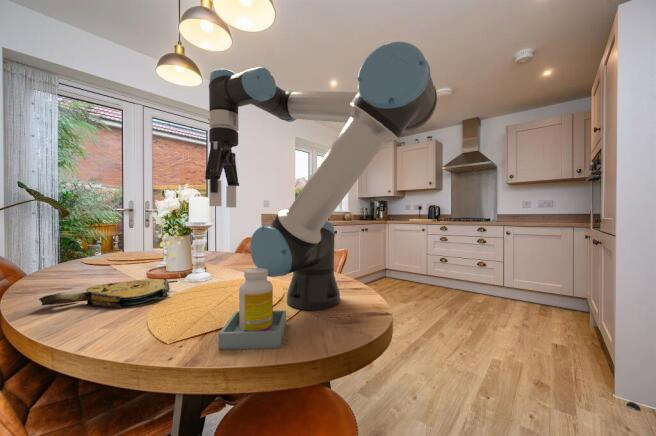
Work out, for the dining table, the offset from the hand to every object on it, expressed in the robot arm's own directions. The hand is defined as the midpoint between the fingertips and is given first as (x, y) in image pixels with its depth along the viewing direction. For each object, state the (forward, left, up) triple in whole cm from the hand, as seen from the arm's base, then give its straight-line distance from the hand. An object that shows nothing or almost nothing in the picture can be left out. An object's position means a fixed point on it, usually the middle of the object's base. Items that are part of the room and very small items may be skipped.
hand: (224, 207), depth 75 cm
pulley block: (+31, -2, -27) cm, 41 cm away
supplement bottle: (-13, +21, -26) cm, 36 cm away
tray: (-13, +21, -27) cm, 36 cm away
